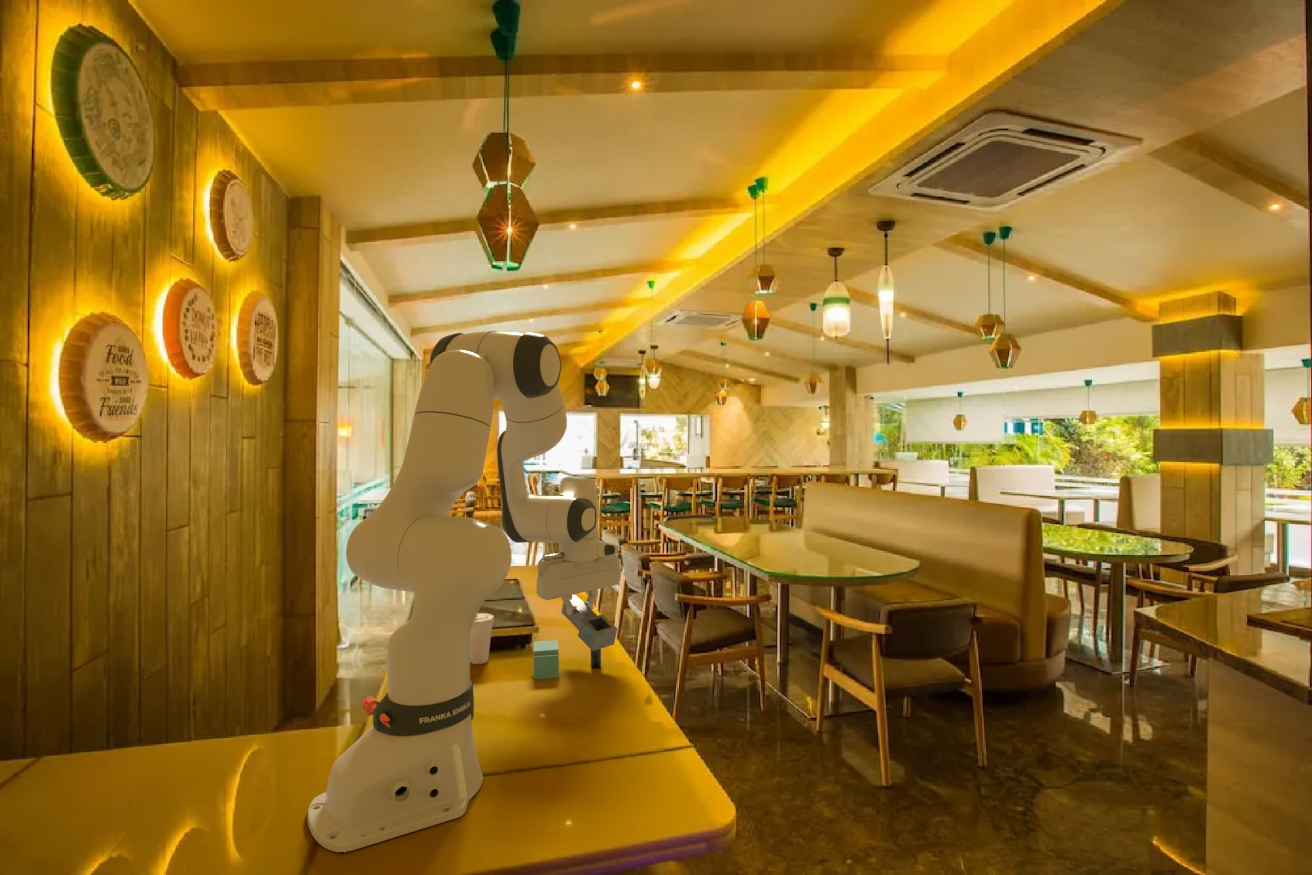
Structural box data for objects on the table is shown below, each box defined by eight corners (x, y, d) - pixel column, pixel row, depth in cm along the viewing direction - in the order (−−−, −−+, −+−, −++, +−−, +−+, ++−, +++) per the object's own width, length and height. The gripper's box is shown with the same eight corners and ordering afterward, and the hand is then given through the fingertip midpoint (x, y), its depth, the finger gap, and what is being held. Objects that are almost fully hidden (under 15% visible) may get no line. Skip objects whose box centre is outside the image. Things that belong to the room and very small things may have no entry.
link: (613, 644, 135) (617, 628, 134) (592, 651, 131) (595, 634, 130) (577, 608, 145) (580, 593, 144) (556, 613, 141) (559, 598, 140)
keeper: (557, 664, 136) (557, 639, 136) (558, 677, 129) (558, 651, 129) (533, 666, 135) (533, 641, 135) (534, 679, 128) (533, 653, 128)
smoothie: (464, 657, 141) (463, 595, 141) (493, 654, 143) (493, 592, 142) (464, 668, 135) (463, 602, 134) (495, 664, 137) (494, 600, 136)
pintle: (594, 669, 133) (594, 641, 133) (588, 666, 135) (588, 638, 135) (603, 667, 135) (602, 639, 135) (597, 664, 136) (596, 636, 136)
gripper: (545, 558, 130) (546, 625, 130) (624, 545, 143) (624, 605, 144) (530, 554, 134) (531, 618, 135) (607, 541, 148) (608, 600, 148)
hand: (580, 611), depth 139 cm, fingers closed on link, 3 cm apart
